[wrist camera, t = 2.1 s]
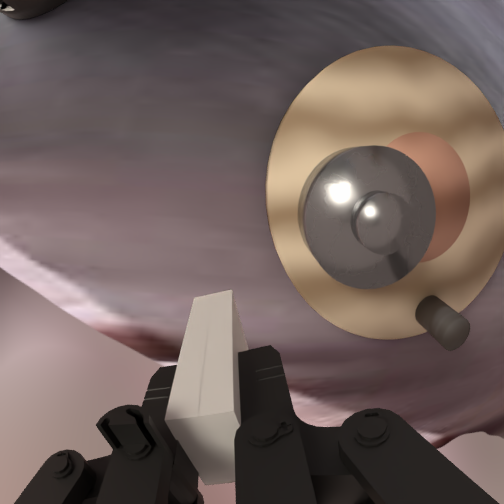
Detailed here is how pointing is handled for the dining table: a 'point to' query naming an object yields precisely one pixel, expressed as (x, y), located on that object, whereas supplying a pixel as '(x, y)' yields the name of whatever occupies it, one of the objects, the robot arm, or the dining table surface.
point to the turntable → (432, 164)
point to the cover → (367, 215)
